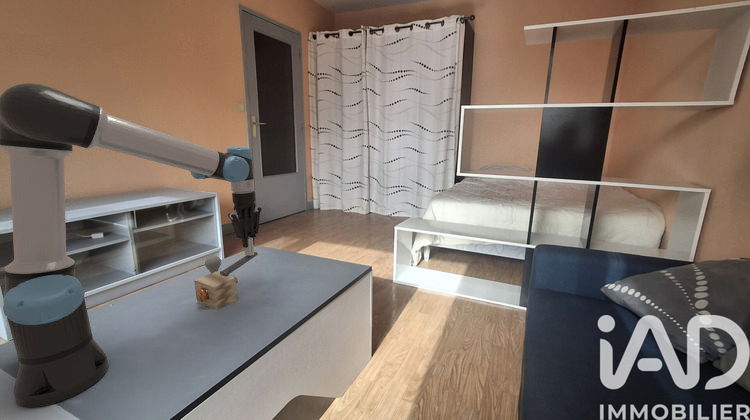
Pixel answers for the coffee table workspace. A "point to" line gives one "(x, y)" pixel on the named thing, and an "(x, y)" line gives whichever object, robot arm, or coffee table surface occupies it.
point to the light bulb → (213, 263)
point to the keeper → (237, 264)
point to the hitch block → (217, 290)
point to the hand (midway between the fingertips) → (249, 254)
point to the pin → (204, 293)
